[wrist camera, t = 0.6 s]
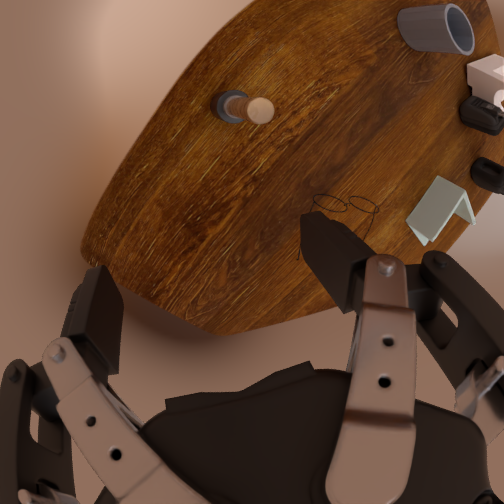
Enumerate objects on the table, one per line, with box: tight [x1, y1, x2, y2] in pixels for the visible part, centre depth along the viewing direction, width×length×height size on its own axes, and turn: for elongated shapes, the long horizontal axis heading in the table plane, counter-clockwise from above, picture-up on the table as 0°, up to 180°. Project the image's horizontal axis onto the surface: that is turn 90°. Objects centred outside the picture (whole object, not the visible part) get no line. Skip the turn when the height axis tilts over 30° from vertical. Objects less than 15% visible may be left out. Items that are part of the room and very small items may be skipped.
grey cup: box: [397, 3, 474, 55], centre depth 22 cm, size 8×8×10 cm
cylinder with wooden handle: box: [210, 90, 274, 124], centre depth 23 cm, size 4×4×14 cm
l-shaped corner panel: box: [405, 175, 476, 246], centre depth 44 cm, size 12×12×8 cm
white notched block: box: [467, 54, 504, 112], centre depth 29 cm, size 18×10×10 cm, turn 120°
